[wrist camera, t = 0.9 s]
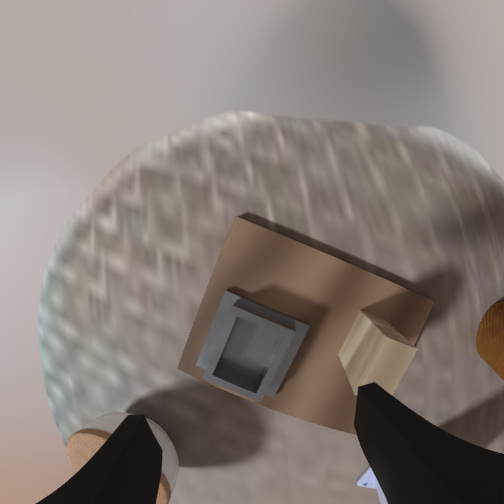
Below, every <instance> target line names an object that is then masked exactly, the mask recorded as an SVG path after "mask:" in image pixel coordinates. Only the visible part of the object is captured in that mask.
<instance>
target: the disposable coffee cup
mask: <svg viewBox="0 0 504 504" xmlns="http://www.w3.org/2000/svg"><path fill="white" fill-rule="evenodd" d="M476 345H477V350H478V353H479V355H480V357H482V358H483V359H484V360H485V361H486V362H487V363H488V364H489V365H490V366H491V367H492V369H493V370H494V371H495V372H496V373H497V374H498V375H499V376H500V377H501V378H502V379H503V380H504V301H500V302H497V303H496V304H494V305H493V306H492V307H491V308H490V309H489V310H488V311H487V313H486V314H485V315H484V317H483V319H482V321H481V323H480V326H479V329H478V332H477V340H476Z"/></svg>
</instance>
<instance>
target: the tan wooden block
mask: <svg viewBox="0 0 504 504" xmlns="http://www.w3.org/2000/svg"><path fill="white" fill-rule="evenodd" d="M416 351H417V348H416V347H415V346H414V345H413V344H411V343H410V342H409V341H408V340H407V339H406V338H405V337H404V336H402V335H401V334H400V333H399V332H398V331H397V330H396V329H395V328H393V327H392V326H391V325H390V324H389V323H388V322H387V321H385V320H384V319H381V318H379V317H376V316H374V315H371V314H369V313H366V312H364V311H362V310H359V312H358V314H357V317H356V319H355V321H354V323H353V325H352V327H351V329H350V331H349V333H348V335H347V337H346V339H345V341H344V343H343V345H342V347H341V349H340V351H339V353H338V355H339V357H340V360H341V362H342V365H343V367H344V370H345V372H346V375H347V377H348V380H349V382H350V385H351V387H352V390H353V392H354V395H356V396H357V392H358V386H362V385H366V384H369V383H373V382H375V383H377V384H378V385H379V386H381V387H382V388H383V389H384V390H386V391H387V392H388V393H390V394H391V395H392V394H393V392H394V391H395V389H396V387H397V386H398V384H399V382H400V381H401V379H402V377H403V375H404V374H405V372H406V370H407V368H408V366H409V364H410V363H411V361H412V359H413V357H414V355H415V353H416Z"/></svg>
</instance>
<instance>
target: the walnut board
mask: <svg viewBox="0 0 504 504" xmlns="http://www.w3.org/2000/svg"><path fill="white" fill-rule="evenodd" d="M226 289H228V290H230V291H232V292H235V293H237V294H239V295H242V296H244V297H246V298H249V299H251V300H253V301H256V302H258V303H261V304H263V305H265V306H268V307H270V308H273V309H275V310H277V311H280V312H282V313H285V314H287V315H290V316H292V317H295V318H297V319H299V320H302V321H304V322H307V323H309V324H310V326H309V329H308V331H307V333H306V335H305V337H304V339H303V341H302V343H301V345H300V347H299V349H298V351H297V353H296V355H295V357H294V359H293V361H292V363H291V365H290V367H289V369H288V371H287V373H286V375H285V377H284V379H283V381H282V383H281V385H280V386H279V388H278V390H277V392H276V394H275V396H274V398H273V397H270V396H268V395H264V396H263V398H262V400H261V402H259V401H256V400H253V399H251V398H248V397H246V396H243V395H241V394H238V393H236V392H234V391H231V390H229V389H226V388H224V387H222V386H219V385H217V384H215V383H213V382H210V381H208V380H206V379H204V378H203V376H204V373H205V371H206V370H205V369H203V368H201V367H199V366H197V365H196V364H197V361H198V358H199V356H200V353H201V351H202V348H203V346H204V343H205V341H206V338H207V335H208V333H209V330H210V328H211V325H212V323H213V320H214V318H215V315H216V313H217V310H218V308H219V305H220V303H221V300H222V298H223V295H224V293H225V290H226ZM434 302H435V301H433V300H430V299H428V298H426V297H424V296H422V295H420V294H417V293H415V292H413V291H411V290H408V289H406V288H404V287H402V286H400V285H397V284H395V283H393V282H391V281H388V280H386V279H384V278H382V277H379V276H377V275H375V274H372V273H370V272H368V271H366V270H363V269H361V268H359V267H356V266H354V265H352V264H349V263H347V262H345V261H342V260H340V259H338V258H335V257H333V256H331V255H328V254H326V253H324V252H321V251H319V250H317V249H314V248H312V247H309V246H307V245H305V244H302V243H300V242H297V241H295V240H293V239H290V238H288V237H285V236H283V235H281V234H278V233H276V232H273V231H271V230H268V229H266V228H263V227H261V226H259V225H256V224H254V223H251V222H249V221H246V220H244V219H241V218H239V217H236V216H235V219H234V221H233V224H232V226H231V229H230V231H229V234H228V236H227V239H226V241H225V244H224V246H223V249H222V251H221V254H220V256H219V259H218V261H217V264H216V266H215V269H214V272H213V274H212V277H211V279H210V282H209V284H208V287H207V290H206V292H205V295H204V298H203V300H202V303H201V305H200V308H199V311H198V313H197V316H196V319H195V321H194V324H193V327H192V329H191V332H190V335H189V338H188V340H187V343H186V346H185V348H184V351H183V354H182V357H181V359H180V362H179V365H178V368H177V369H179V370H181V371H183V372H185V373H187V374H189V375H192V376H194V377H196V378H198V379H200V380H202V381H204V382H207V383H209V384H211V385H213V386H216V387H218V388H220V389H223V390H225V391H227V392H230V393H232V394H234V395H237V396H239V397H242V398H244V399H247V400H249V401H252V402H254V403H257V404H260V405H262V406H265V407H268V408H270V409H273V410H276V411H279V412H282V413H285V414H288V415H290V416H293V417H296V418H300V419H303V420H306V421H309V422H312V423H315V424H319V425H322V426H326V427H329V428H333V429H336V430H340V431H344V432H347V433H351V434H355V435H357V433H356V430H355V427H354V420H355V411H356V402H357V396H356V395H354V392H353V390H352V387H351V385H350V382H349V380H348V377H347V375H346V372H345V370H344V367H343V365H342V362H341V360H340V357H339V355H338V353H339V351H340V349H341V347H342V345H343V343H344V341H345V339H346V337H347V335H348V333H349V331H350V329H351V327H352V325H353V323H354V321H355V319H356V317H357V314H358V312H359V310H362V311H364V312H366V313H369V314H371V315H374V316H376V317H379V318H381V319H384V320H385V321H387V322H388V323H389V324H390V325H391V326H392V327H393V328H395V329H396V330H397V331H398V332H399V333H400V334H401V335H402V336H404V337H405V338H406V339H407V340H408V341H409V342H410V343H411V344H413V345H415V343H416V341H417V339H418V337H419V335H420V333H421V331H422V329H423V327H424V325H425V323H426V320H427V318H428V316H429V314H430V311H431V309H432V307H433V305H434Z"/></svg>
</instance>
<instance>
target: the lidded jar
mask: <svg viewBox="0 0 504 504" xmlns="http://www.w3.org/2000/svg"><path fill="white" fill-rule="evenodd" d="M128 415H135V414H131V413H121V412H118V413H110V414H106V415H103V416H101V417H98V418H97V419H95V420H93V421H91V422H90V423H88V424H87V425H86V426H84V427H83V428H82V429H81V430H79V431H77V432H75V433H74V434H73V435H72V436H71V437H70V438H69V440H68V442H67V455H68V458H69V461H70V463H71V465H72V467H73V468H74V470H75V472H76V473H77V472H78V471H79V470H80V469H81V468H82V467H83V466H84V465H85V464H86V463H87V462H88V461H89V460H90V459H91V458H92V456H93V455H94V454H95V453H96V452H97V451H98V450H99V449H100V447H101V446H102V445H103V444H104V443H105V442H106V440H107V439H108V438H109V437H110V436H111V434H112V433H113V432H114V431H115V430H116V429H117V427H118V426H119V425H120V424H121V423H122V421H123V420H124V419H125V418H126V417H127V416H128ZM145 418H146V420H147V422H148V424H149V426H150V428H151V430H152V432H153V433H154V435H155V437H156V439H157V441H158V443H159V444H160V446H161V448H162V450H163V453H162V472H161V479H160V484H159V490H158V495H157V500H156V504H168V503H169V501H170V497H171V494H172V492H173V490H174V487H175V484H176V481H177V477H178V472H179V461H178V455H177V452H176V449H175V447H174V445H173V443H172V441H171V440H170V438H169V436H168V435H167V433H166V432H165V430H164V429H163V428H162V427H161V426H159V425H158V424H157V423H156V422H154V421H153V420H151V419H149V418H147V417H145Z"/></svg>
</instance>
